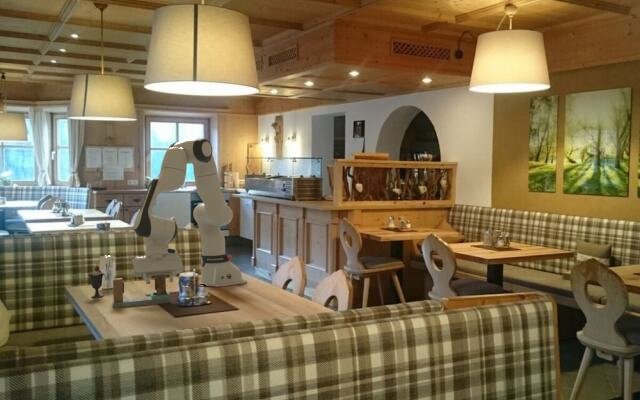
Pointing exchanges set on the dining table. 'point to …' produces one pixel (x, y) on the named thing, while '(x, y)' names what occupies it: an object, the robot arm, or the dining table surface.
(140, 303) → the rail
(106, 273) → the white carton
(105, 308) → the dining table surface
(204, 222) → the robot arm
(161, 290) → the walnut finger
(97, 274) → the sundae
